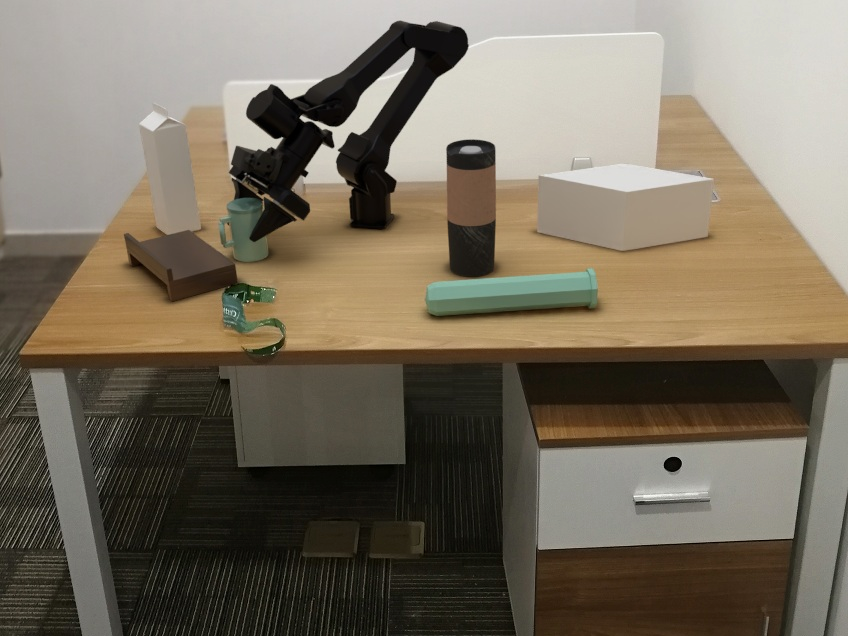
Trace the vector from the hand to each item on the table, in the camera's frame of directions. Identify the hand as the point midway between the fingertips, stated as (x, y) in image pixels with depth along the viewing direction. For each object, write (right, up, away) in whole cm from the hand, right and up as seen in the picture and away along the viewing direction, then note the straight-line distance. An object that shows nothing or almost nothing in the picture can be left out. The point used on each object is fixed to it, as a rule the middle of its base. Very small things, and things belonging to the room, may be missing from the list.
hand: (240, 233), depth 167 cm
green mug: (+1, -3, +3) cm, 4 cm away
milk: (-14, +3, +14) cm, 20 cm away
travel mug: (+38, -6, -3) cm, 39 cm away
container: (+43, -14, -17) cm, 48 cm away
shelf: (-9, -7, -3) cm, 12 cm away
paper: (+64, +1, +8) cm, 65 cm away
